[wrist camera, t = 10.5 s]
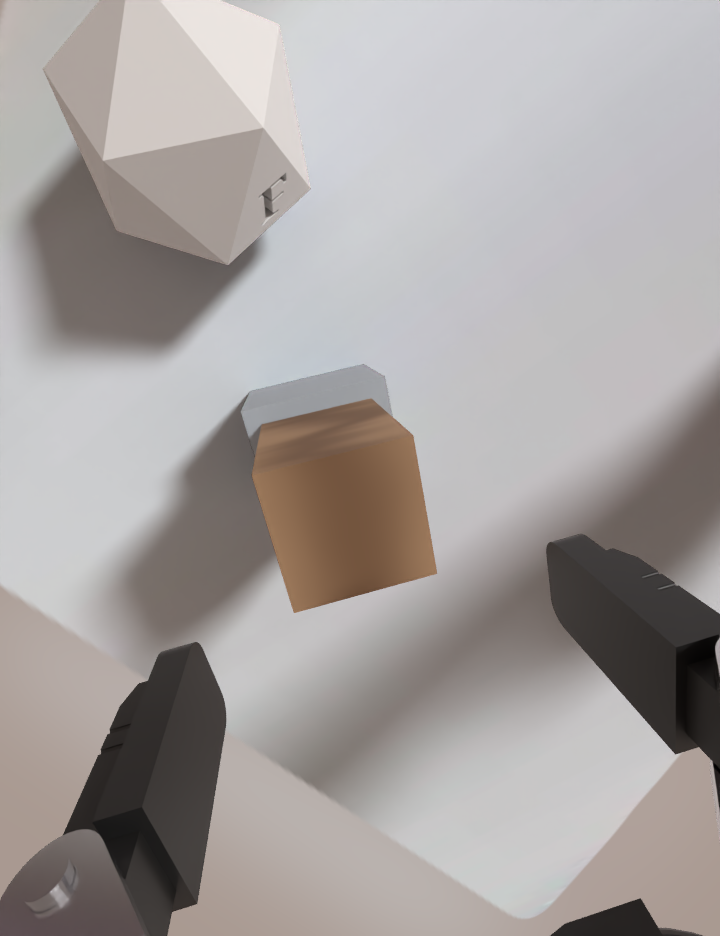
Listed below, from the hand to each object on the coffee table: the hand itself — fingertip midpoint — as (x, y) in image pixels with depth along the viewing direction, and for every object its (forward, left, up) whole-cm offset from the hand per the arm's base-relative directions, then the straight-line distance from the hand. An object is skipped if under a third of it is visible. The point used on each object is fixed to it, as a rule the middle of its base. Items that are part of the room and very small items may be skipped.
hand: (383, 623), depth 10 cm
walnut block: (0, 0, -12) cm, 12 cm away
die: (+2, -14, -18) cm, 23 cm away
